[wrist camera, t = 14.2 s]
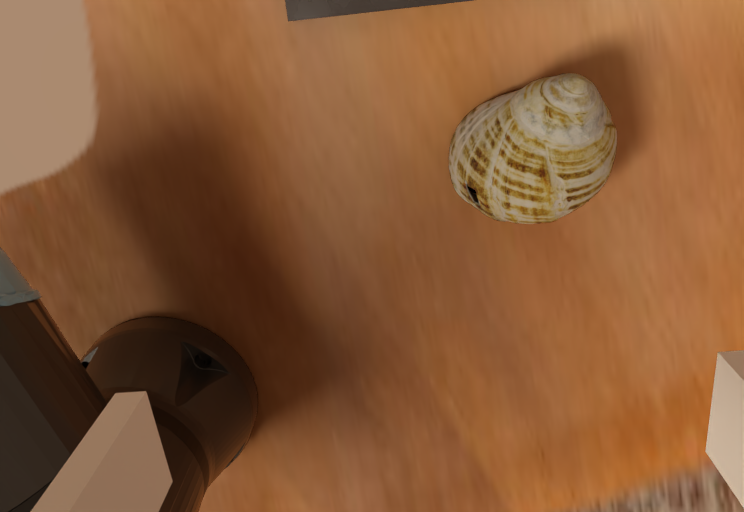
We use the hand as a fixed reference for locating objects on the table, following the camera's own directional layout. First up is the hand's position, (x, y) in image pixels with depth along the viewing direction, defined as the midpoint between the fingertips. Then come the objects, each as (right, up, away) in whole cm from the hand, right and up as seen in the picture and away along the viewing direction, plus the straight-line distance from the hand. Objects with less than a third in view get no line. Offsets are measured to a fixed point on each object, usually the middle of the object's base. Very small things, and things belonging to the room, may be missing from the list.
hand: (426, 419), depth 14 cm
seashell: (+10, +12, +29) cm, 33 cm away
